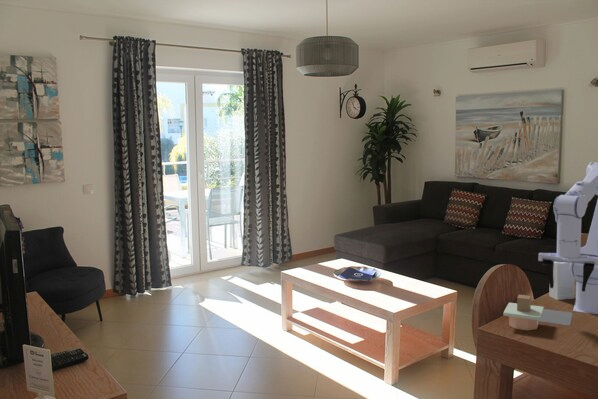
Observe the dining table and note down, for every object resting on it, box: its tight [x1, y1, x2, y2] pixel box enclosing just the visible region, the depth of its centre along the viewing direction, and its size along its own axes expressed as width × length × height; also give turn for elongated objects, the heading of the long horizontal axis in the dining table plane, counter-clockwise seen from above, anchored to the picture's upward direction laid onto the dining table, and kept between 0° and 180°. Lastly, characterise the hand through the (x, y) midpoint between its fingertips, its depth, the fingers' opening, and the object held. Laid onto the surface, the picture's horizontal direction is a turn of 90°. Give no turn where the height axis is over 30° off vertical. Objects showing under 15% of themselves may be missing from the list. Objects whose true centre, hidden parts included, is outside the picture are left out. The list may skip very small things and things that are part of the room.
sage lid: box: [502, 294, 545, 320], centre depth 142 cm, size 9×9×4 cm
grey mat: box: [538, 308, 574, 327], centre depth 148 cm, size 11×11×1 cm
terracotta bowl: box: [508, 316, 539, 331], centre depth 142 cm, size 7×7×4 cm
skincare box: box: [548, 262, 576, 301], centre depth 163 cm, size 6×4×12 cm
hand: (567, 288), depth 142 cm, fingers open, 7 cm apart
